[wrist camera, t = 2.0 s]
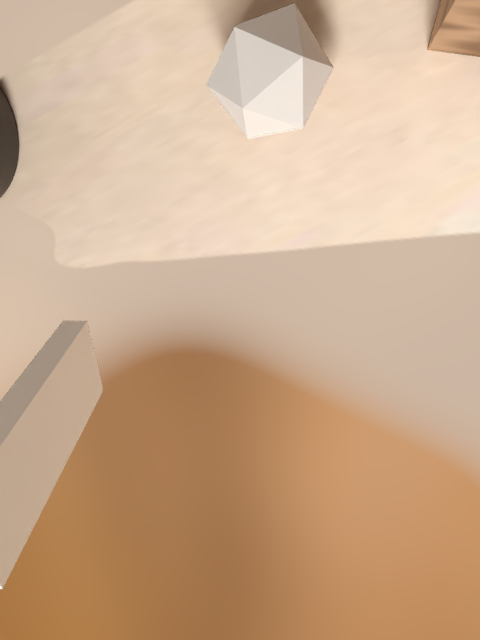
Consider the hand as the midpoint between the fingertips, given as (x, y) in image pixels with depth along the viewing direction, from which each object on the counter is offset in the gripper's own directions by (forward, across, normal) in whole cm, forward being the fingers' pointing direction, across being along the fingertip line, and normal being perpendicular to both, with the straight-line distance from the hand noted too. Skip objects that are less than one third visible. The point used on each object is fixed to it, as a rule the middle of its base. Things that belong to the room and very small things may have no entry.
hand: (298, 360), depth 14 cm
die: (+31, -1, +6) cm, 32 cm away
